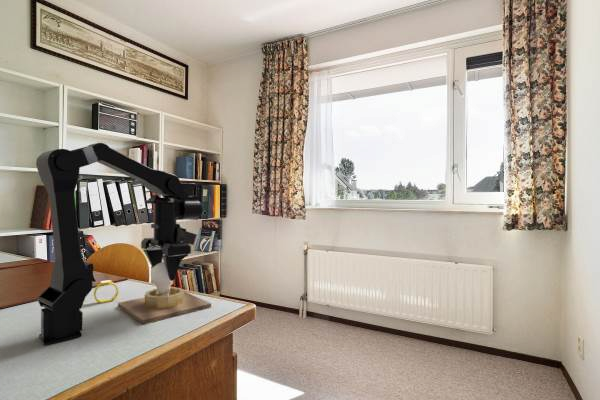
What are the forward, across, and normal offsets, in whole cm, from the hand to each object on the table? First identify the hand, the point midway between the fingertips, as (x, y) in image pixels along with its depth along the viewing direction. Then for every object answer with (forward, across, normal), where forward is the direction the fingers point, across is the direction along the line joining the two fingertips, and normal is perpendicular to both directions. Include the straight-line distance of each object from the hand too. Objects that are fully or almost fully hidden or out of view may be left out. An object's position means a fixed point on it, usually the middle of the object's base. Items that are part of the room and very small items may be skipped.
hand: (164, 277), depth 90 cm
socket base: (+8, 0, 0) cm, 8 cm away
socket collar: (+8, 0, 0) cm, 8 cm away
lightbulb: (+7, 0, 0) cm, 7 cm away
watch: (+8, +16, +10) cm, 21 cm away
